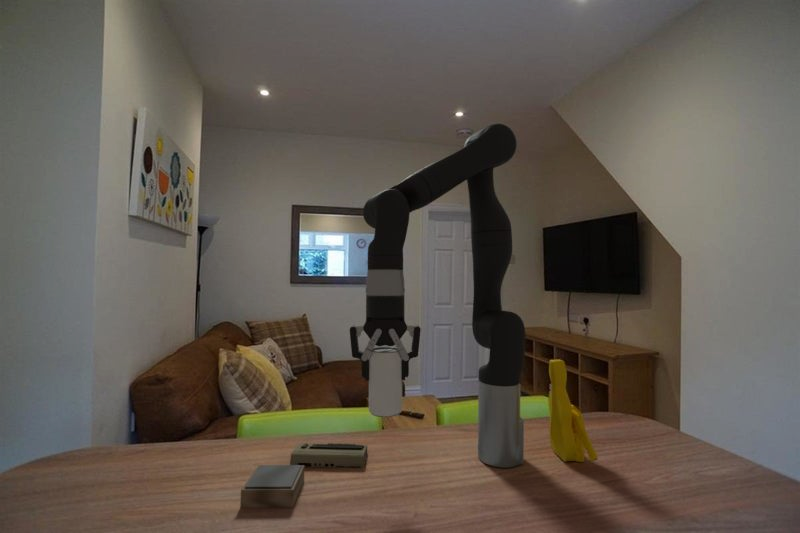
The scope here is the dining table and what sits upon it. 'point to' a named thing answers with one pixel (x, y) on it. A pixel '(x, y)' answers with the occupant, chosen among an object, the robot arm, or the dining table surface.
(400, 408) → the can
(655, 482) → the dining table surface
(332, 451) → the computer
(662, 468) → the dining table surface
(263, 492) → the stand
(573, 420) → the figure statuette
